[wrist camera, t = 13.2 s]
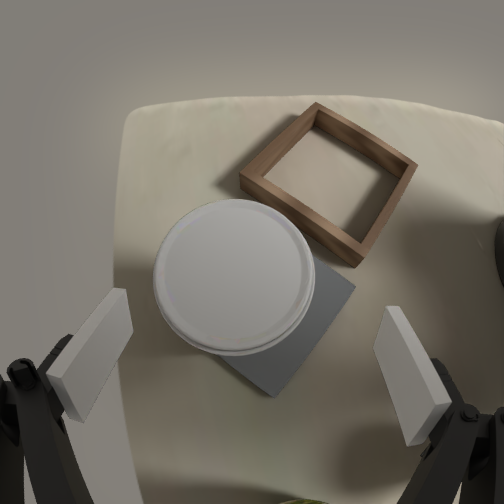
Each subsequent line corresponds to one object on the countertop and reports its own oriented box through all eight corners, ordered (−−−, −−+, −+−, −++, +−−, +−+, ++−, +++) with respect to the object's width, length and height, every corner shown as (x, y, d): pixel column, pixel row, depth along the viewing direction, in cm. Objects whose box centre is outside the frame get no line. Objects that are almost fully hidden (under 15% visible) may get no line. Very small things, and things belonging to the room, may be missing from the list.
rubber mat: (353, 289, 30) (356, 286, 29) (273, 397, 26) (274, 398, 25) (250, 215, 33) (250, 211, 32) (166, 310, 29) (163, 308, 28)
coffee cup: (205, 252, 30) (180, 181, 19) (300, 274, 29) (329, 212, 18) (177, 346, 27) (127, 326, 16) (278, 372, 26) (298, 373, 15)
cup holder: (408, 178, 35) (418, 164, 32) (355, 268, 31) (364, 257, 28) (312, 118, 38) (315, 101, 36) (240, 188, 34) (239, 172, 31)
